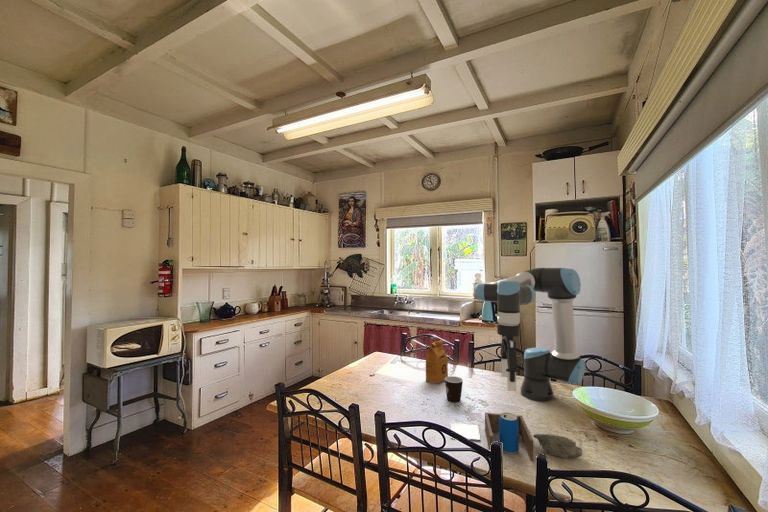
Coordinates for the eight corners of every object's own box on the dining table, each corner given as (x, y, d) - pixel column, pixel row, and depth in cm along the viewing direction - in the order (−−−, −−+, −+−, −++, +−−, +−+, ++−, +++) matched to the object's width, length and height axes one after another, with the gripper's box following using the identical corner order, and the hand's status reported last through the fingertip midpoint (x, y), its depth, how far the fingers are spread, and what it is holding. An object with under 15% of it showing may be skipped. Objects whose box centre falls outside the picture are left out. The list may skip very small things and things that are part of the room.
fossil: (567, 474, 110) (585, 455, 114) (564, 452, 106) (582, 433, 110) (530, 446, 122) (547, 430, 126) (526, 425, 119) (544, 409, 123)
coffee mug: (463, 404, 154) (463, 383, 154) (444, 403, 156) (444, 381, 156) (462, 394, 166) (462, 374, 166) (444, 393, 167) (444, 373, 167)
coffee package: (450, 380, 186) (450, 341, 186) (437, 385, 177) (437, 344, 177) (436, 375, 193) (436, 337, 193) (423, 381, 184) (423, 341, 185)
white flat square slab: (478, 426, 134) (478, 425, 134) (480, 441, 123) (480, 439, 123) (450, 424, 136) (450, 422, 136) (450, 438, 125) (450, 436, 125)
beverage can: (502, 442, 122) (502, 410, 122) (520, 449, 118) (520, 415, 118) (496, 450, 117) (496, 416, 117) (515, 457, 113) (515, 422, 113)
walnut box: (522, 433, 129) (522, 415, 129) (533, 461, 111) (533, 440, 111) (484, 429, 131) (484, 412, 131) (490, 456, 114) (490, 436, 114)
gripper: (493, 317, 131) (493, 370, 131) (502, 330, 107) (502, 396, 106) (513, 318, 130) (513, 372, 129) (527, 331, 105) (527, 398, 105)
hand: (508, 383), depth 118 cm, fingers open, 13 cm apart
